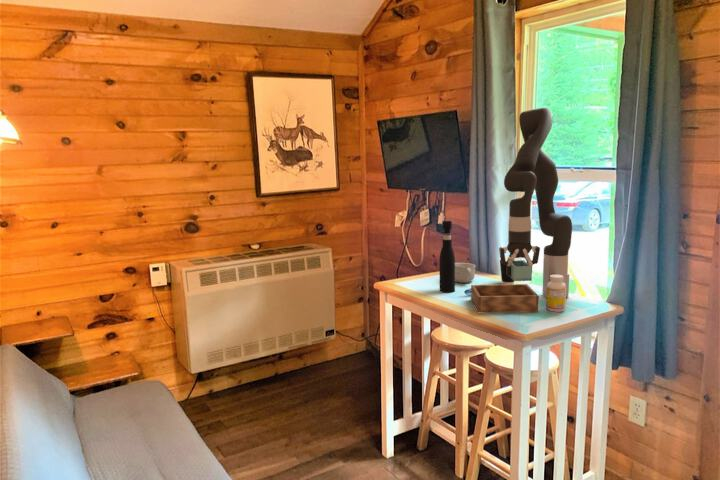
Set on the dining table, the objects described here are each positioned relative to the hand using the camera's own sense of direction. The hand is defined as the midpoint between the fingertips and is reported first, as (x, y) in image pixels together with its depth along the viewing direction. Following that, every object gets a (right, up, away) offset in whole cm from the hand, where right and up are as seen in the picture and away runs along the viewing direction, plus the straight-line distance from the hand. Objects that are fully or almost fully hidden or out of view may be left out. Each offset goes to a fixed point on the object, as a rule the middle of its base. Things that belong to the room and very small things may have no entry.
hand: (518, 275), depth 190 cm
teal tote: (0, -1, 0) cm, 1 cm away
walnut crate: (-1, -13, +17) cm, 21 cm away
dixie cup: (+10, -7, +49) cm, 50 cm away
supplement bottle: (+17, -14, +10) cm, 24 cm away
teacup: (-9, -7, +53) cm, 54 cm away
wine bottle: (-19, -9, +39) cm, 45 cm away
